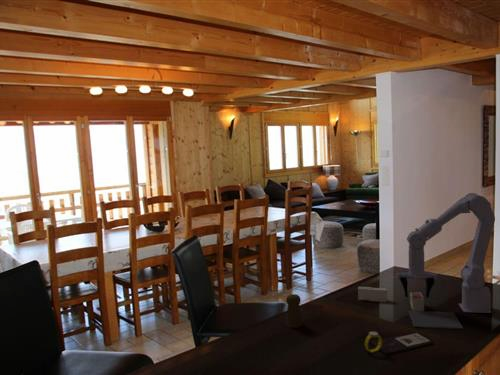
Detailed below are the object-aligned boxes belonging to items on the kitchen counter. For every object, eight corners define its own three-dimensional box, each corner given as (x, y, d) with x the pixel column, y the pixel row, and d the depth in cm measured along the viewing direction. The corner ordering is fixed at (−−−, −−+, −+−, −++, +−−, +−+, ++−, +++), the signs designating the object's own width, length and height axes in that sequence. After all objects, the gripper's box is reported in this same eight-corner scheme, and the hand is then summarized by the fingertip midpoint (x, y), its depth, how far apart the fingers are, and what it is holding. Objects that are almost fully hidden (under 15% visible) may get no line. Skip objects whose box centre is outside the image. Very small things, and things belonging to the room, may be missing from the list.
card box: (420, 304, 173) (420, 292, 172) (424, 311, 166) (423, 298, 166) (410, 304, 174) (410, 292, 173) (413, 311, 167) (412, 298, 166)
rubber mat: (453, 313, 162) (453, 312, 162) (463, 329, 149) (463, 327, 149) (408, 312, 166) (408, 310, 166) (414, 327, 152) (414, 326, 152)
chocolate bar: (369, 341, 142) (414, 331, 148) (369, 344, 142) (414, 334, 148) (386, 353, 134) (433, 342, 139) (386, 356, 134) (433, 345, 139)
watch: (377, 348, 139) (378, 330, 139) (383, 351, 137) (384, 333, 136) (362, 351, 137) (363, 332, 136) (368, 354, 134) (369, 336, 134)
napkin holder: (395, 301, 179) (394, 287, 178) (378, 308, 172) (378, 294, 171) (365, 292, 191) (364, 280, 190) (348, 299, 184) (348, 286, 183)
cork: (304, 322, 162) (303, 293, 160) (299, 328, 156) (298, 299, 155) (289, 320, 164) (288, 291, 163) (283, 326, 159) (282, 297, 158)
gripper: (398, 265, 166) (398, 299, 167) (438, 265, 163) (438, 300, 164) (395, 260, 173) (396, 293, 174) (434, 260, 169) (434, 294, 171)
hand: (416, 296), depth 169 cm, fingers open, 7 cm apart
